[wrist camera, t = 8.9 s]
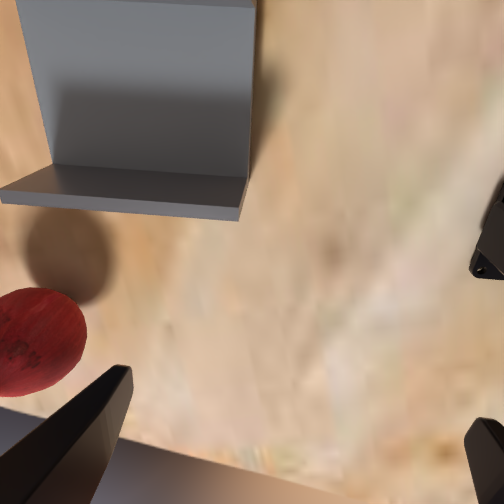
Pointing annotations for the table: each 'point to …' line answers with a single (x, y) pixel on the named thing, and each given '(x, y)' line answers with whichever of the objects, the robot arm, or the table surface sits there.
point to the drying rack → (141, 105)
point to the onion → (38, 339)
